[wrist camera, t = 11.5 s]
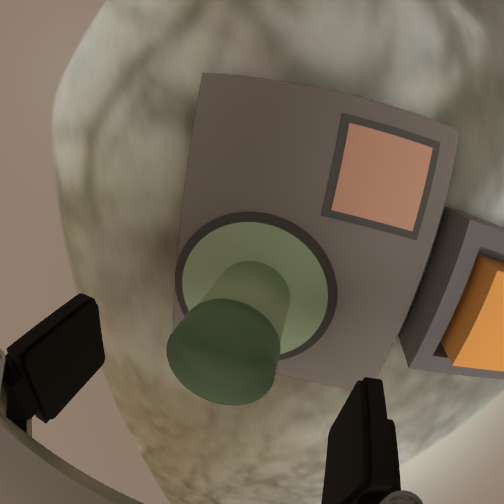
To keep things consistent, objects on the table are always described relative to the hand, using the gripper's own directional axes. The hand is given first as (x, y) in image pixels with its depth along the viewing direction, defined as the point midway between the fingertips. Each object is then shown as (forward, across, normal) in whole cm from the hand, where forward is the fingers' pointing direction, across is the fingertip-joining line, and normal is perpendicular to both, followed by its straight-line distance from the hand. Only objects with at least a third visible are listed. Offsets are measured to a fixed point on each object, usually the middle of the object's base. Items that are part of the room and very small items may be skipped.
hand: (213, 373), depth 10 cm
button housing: (+8, -13, -2) cm, 15 cm away
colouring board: (+8, -2, -2) cm, 9 cm away
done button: (+6, -13, -2) cm, 14 cm away
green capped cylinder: (+7, 0, +1) cm, 7 cm away
